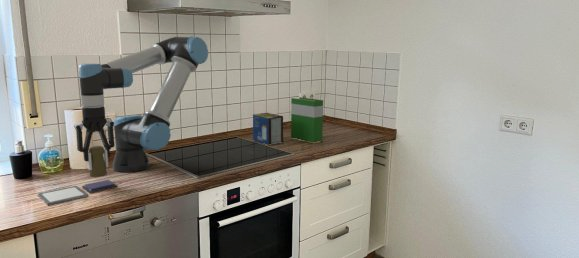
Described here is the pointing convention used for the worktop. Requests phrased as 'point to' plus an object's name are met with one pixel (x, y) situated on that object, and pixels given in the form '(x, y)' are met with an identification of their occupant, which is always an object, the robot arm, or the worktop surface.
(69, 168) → the worktop surface
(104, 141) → the robot arm
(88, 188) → the pad
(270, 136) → the protein box
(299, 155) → the worktop surface
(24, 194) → the worktop surface
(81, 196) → the marked mat
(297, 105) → the green canister
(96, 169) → the olive tapered cylinder
